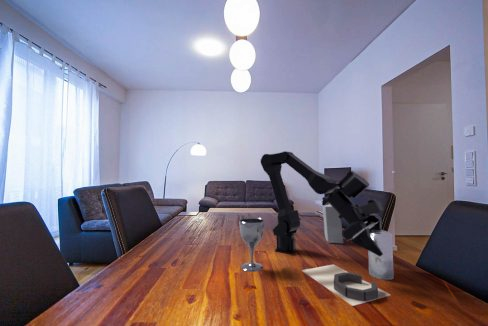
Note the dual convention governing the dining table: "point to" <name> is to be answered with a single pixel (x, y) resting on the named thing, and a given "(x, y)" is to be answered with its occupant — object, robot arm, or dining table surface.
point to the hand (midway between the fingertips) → (386, 251)
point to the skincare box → (332, 225)
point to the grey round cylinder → (384, 263)
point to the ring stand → (346, 284)
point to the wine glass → (251, 239)
